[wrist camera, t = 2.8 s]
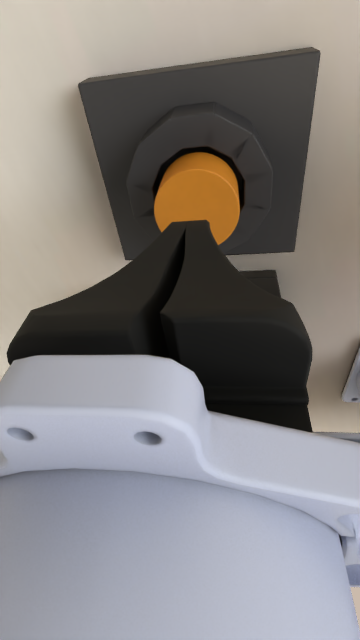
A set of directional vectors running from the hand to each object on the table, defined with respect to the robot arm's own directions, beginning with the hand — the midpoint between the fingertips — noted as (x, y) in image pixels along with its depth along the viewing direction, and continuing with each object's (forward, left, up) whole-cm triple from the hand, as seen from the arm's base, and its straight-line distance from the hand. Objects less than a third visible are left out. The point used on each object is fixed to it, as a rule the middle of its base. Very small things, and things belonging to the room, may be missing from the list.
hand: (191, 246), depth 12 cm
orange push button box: (0, 0, -8) cm, 8 cm away
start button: (0, 0, -5) cm, 5 cm away
